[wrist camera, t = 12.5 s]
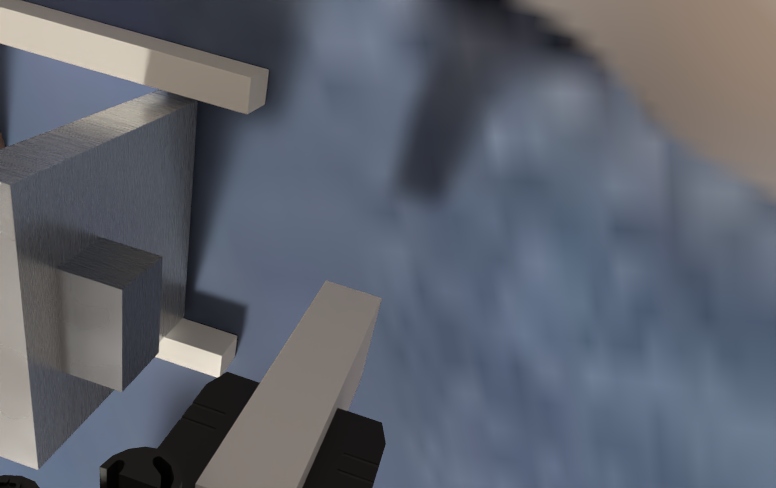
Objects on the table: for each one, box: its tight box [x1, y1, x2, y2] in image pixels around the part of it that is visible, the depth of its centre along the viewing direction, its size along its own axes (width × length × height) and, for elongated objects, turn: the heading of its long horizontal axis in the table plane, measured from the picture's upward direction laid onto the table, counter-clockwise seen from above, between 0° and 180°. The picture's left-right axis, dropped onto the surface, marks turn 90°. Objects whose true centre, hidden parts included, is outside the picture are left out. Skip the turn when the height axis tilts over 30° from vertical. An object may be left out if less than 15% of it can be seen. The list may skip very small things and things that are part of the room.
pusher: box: [0, 90, 198, 470], centre depth 16 cm, size 3×8×7 cm, turn 168°
